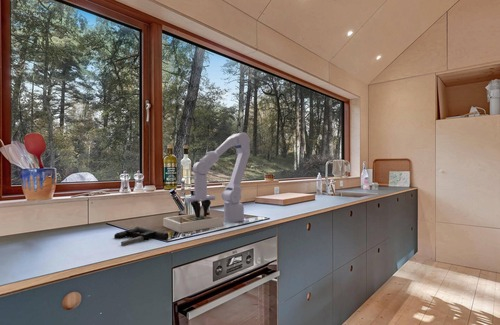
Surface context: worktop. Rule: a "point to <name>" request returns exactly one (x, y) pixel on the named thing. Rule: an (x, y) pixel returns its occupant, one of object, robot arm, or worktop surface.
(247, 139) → the robot arm
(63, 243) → the worktop surface
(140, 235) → the door handle
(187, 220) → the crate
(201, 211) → the handle
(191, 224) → the tray
